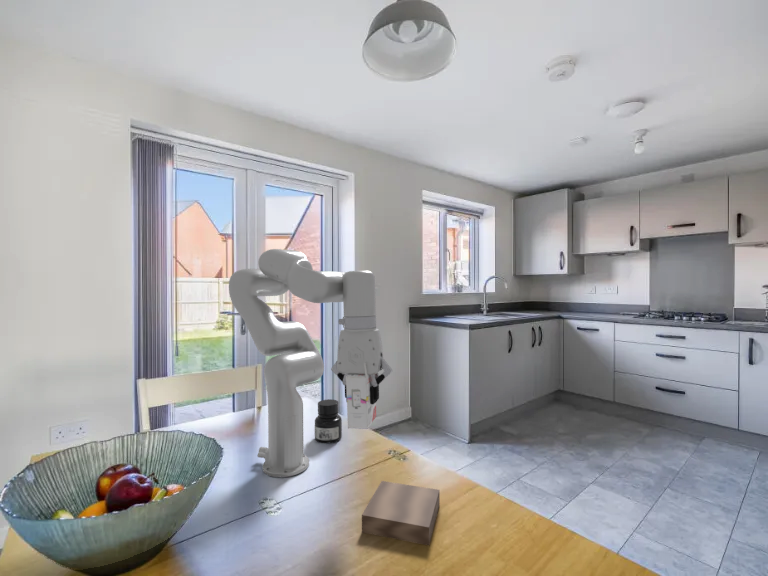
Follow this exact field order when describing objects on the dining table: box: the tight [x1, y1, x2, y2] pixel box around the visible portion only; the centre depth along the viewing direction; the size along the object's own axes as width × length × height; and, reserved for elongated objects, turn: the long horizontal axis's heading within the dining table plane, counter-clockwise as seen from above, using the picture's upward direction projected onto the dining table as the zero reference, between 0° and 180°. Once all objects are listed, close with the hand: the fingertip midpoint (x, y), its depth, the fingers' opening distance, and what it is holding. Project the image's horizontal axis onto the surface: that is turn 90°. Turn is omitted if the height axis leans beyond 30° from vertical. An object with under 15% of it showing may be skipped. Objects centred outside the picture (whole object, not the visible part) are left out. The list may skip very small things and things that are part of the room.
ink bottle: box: [314, 399, 343, 444], centre depth 124 cm, size 10×9×12 cm
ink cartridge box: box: [346, 362, 377, 430], centre depth 87 cm, size 9×5×15 cm, turn 168°
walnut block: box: [361, 480, 441, 546], centre depth 82 cm, size 14×14×4 cm
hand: (362, 401), depth 87 cm, fingers closed on ink cartridge box, 5 cm apart
